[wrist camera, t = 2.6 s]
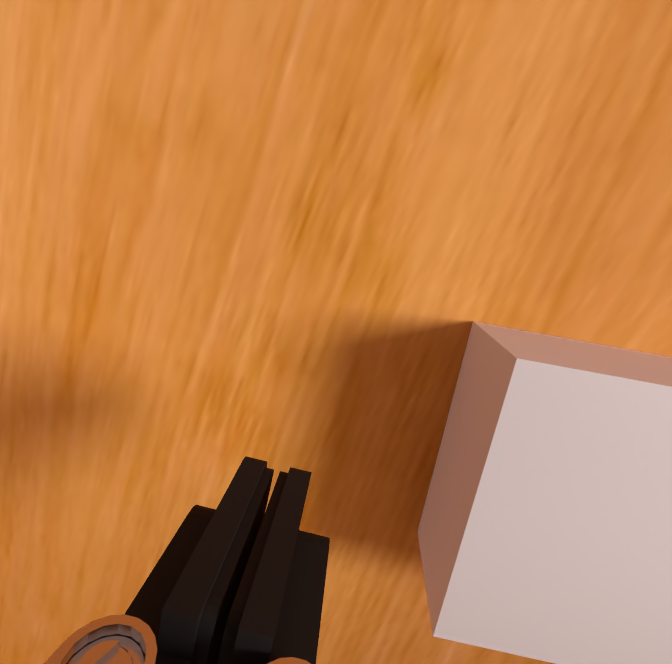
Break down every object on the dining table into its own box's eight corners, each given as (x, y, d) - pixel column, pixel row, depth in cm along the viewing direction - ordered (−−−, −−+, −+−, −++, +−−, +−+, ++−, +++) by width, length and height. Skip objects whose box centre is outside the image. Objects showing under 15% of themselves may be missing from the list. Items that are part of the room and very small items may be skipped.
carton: (691, 359, 15) (845, 418, 10) (603, 566, 17) (692, 694, 13) (471, 319, 15) (517, 358, 10) (416, 527, 18) (433, 636, 13)
